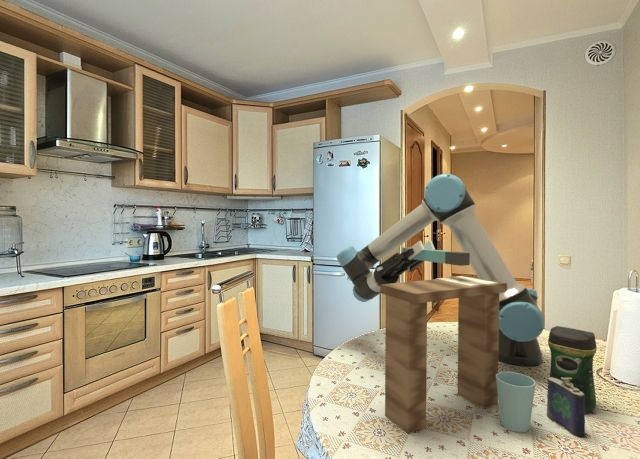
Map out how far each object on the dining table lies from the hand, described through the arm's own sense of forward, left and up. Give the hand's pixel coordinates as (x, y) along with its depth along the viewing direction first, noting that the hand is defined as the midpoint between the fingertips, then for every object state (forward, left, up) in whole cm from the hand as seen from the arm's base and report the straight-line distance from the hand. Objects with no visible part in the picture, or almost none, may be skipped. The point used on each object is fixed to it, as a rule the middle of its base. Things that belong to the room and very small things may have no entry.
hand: (426, 245), depth 100 cm
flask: (-12, +30, -38) cm, 50 cm away
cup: (-2, +25, -38) cm, 46 cm away
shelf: (+7, +13, -38) cm, 41 cm away
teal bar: (0, +2, -4) cm, 5 cm away
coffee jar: (-23, +25, -38) cm, 51 cm away
